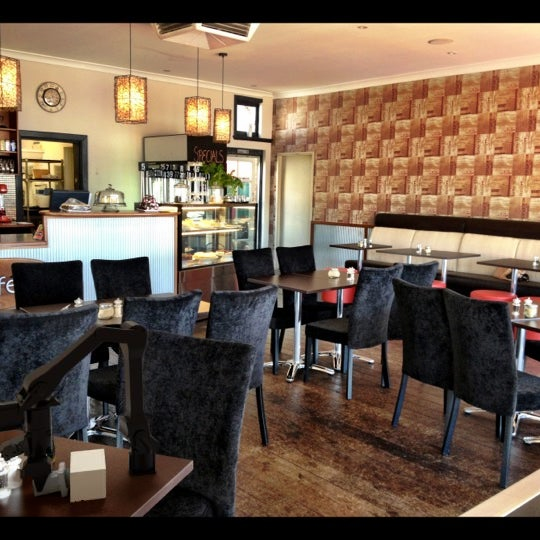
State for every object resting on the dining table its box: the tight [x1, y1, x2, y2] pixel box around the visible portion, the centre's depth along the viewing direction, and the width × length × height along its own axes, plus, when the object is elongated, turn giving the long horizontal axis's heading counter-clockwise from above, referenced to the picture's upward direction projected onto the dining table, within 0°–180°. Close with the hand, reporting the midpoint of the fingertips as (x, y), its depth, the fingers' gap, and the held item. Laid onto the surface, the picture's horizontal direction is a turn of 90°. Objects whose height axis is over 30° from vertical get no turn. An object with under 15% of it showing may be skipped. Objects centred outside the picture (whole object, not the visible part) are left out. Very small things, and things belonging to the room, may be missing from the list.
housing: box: [69, 448, 107, 503], centre depth 142 cm, size 8×12×7 cm, turn 18°
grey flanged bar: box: [31, 461, 70, 498], centre depth 140 cm, size 13×6×6 cm, turn 106°
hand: (40, 487), depth 139 cm, fingers closed on grey flanged bar, 4 cm apart
